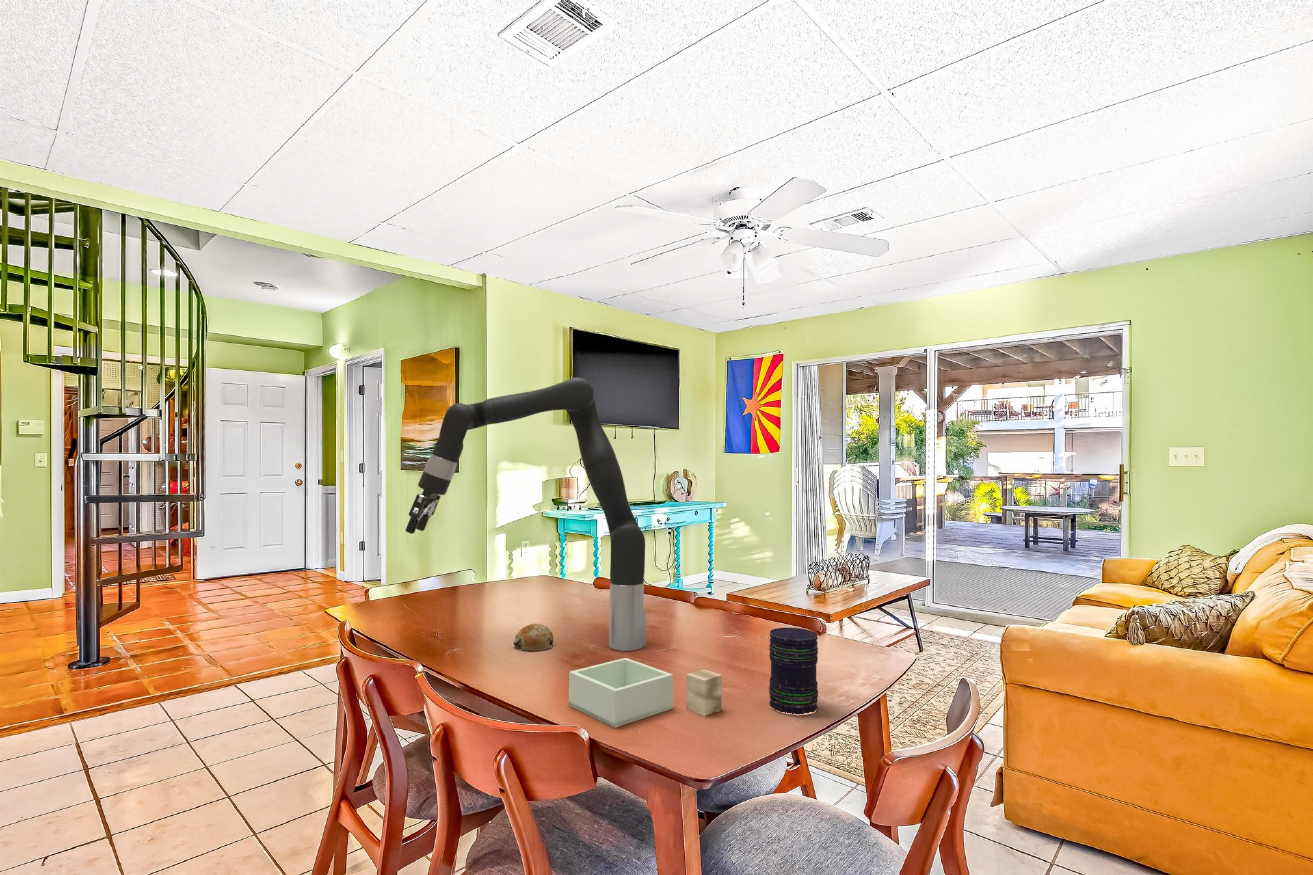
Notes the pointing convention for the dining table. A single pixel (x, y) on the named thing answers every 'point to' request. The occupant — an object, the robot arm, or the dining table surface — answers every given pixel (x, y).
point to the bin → (620, 691)
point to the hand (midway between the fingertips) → (414, 531)
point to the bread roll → (534, 638)
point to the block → (704, 692)
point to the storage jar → (793, 670)
